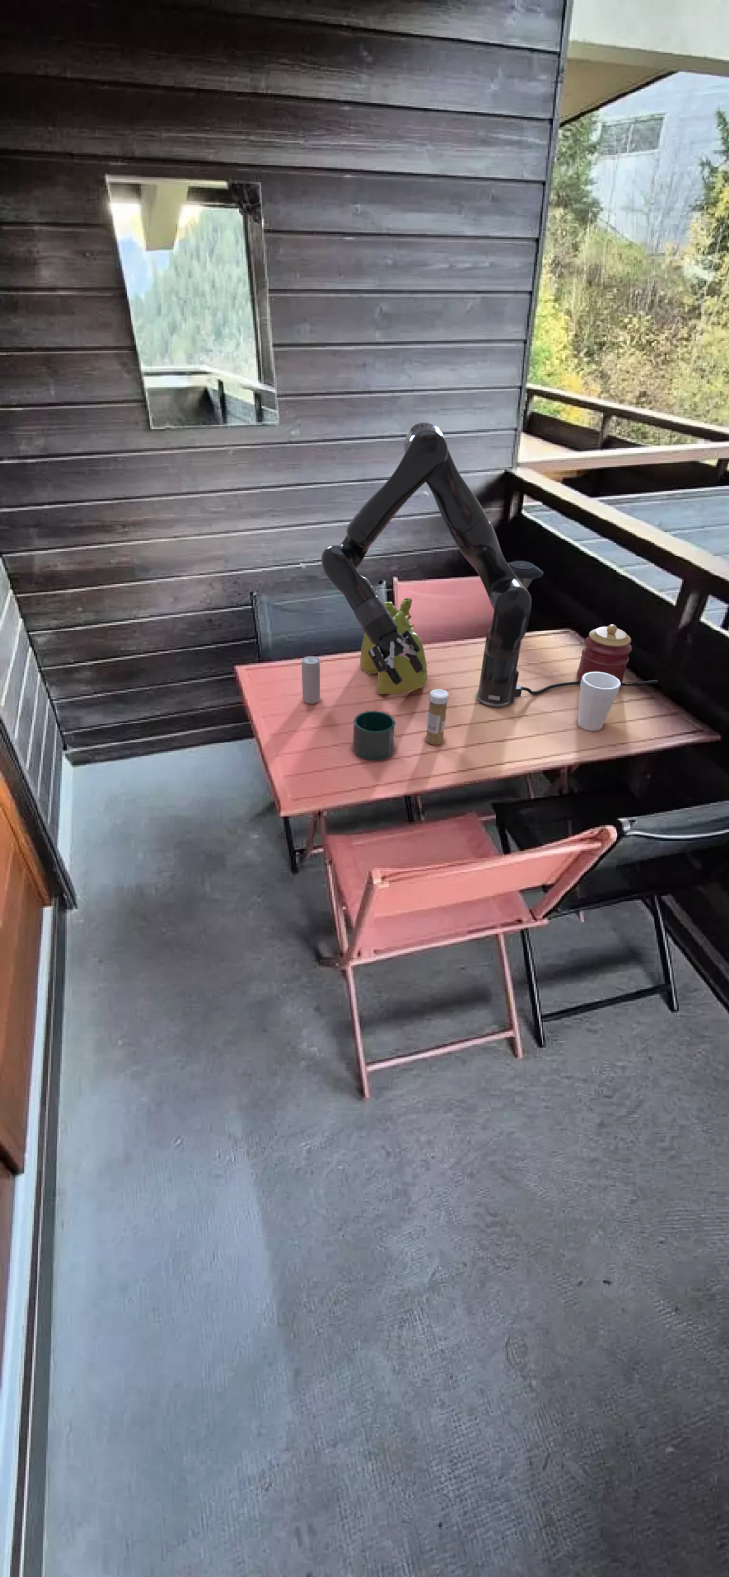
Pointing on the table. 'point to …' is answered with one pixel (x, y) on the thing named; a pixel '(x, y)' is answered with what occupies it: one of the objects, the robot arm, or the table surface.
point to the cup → (373, 735)
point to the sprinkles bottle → (436, 716)
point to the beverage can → (311, 679)
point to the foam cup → (596, 699)
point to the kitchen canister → (605, 652)
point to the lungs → (401, 663)
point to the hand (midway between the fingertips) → (409, 677)
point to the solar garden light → (525, 571)
